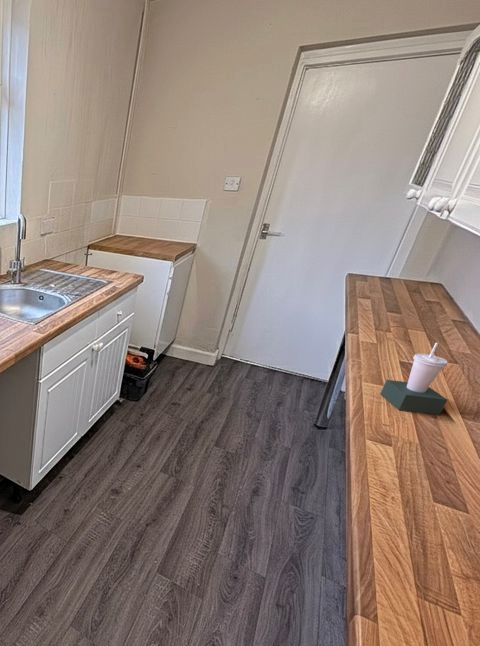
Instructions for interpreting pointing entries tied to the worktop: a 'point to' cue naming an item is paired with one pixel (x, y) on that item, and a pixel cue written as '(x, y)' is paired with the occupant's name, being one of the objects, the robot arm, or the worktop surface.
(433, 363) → the smoothie
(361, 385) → the worktop surface
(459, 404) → the worktop surface
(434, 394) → the block
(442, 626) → the worktop surface
